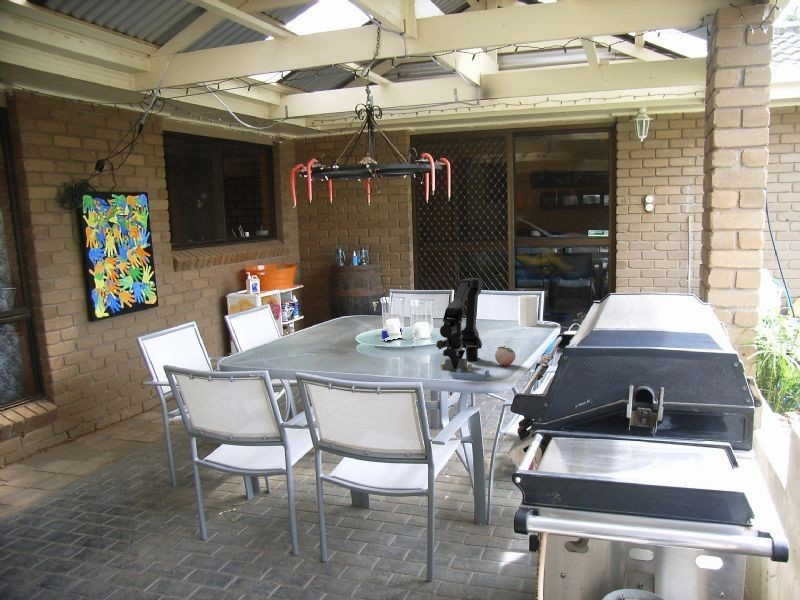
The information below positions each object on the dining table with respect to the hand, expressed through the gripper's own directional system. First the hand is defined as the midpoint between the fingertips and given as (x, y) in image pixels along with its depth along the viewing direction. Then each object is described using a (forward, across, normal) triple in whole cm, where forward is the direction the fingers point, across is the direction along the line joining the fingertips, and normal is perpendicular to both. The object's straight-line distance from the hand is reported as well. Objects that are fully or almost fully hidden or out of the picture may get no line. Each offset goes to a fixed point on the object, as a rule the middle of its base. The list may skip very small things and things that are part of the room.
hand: (456, 367), depth 281 cm
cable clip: (+1, -59, -57) cm, 82 cm away
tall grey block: (+1, 0, 0) cm, 1 cm away
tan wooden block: (+1, 0, 0) cm, 1 cm away
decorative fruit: (+1, -10, +20) cm, 22 cm away
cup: (+1, -112, +11) cm, 113 cm away
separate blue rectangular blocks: (+1, +8, +10) cm, 13 cm away
